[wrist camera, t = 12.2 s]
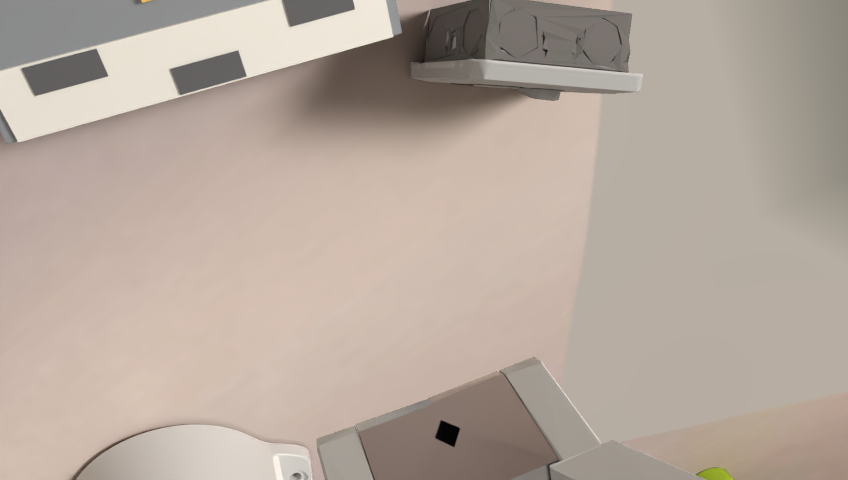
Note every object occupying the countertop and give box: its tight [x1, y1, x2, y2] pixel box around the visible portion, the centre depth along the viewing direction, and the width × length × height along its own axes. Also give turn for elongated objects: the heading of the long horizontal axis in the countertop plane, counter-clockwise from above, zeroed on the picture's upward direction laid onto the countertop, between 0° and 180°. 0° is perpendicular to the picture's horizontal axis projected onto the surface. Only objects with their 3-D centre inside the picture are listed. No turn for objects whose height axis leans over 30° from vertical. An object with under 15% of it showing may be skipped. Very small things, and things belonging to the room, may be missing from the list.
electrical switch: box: [411, 0, 643, 101], centre depth 37 cm, size 9×5×9 cm, turn 80°
